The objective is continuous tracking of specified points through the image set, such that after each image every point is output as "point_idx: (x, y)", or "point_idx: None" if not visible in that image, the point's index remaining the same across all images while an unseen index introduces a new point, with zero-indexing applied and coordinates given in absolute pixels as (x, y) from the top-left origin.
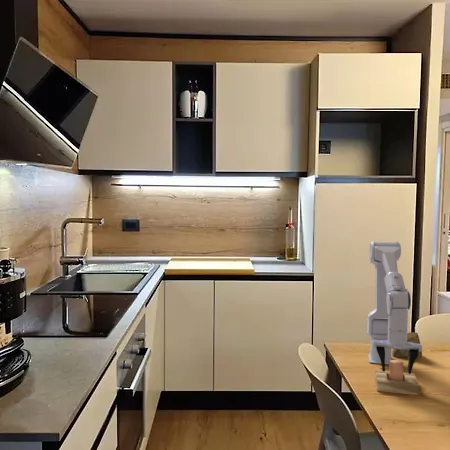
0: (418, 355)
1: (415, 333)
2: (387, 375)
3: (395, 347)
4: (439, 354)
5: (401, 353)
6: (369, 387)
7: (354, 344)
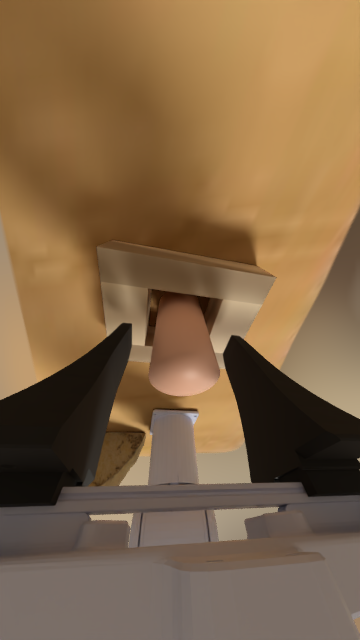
0: None
1: None
2: None
3: (335, 592)
4: None
5: (128, 440)
6: None
7: (197, 451)
